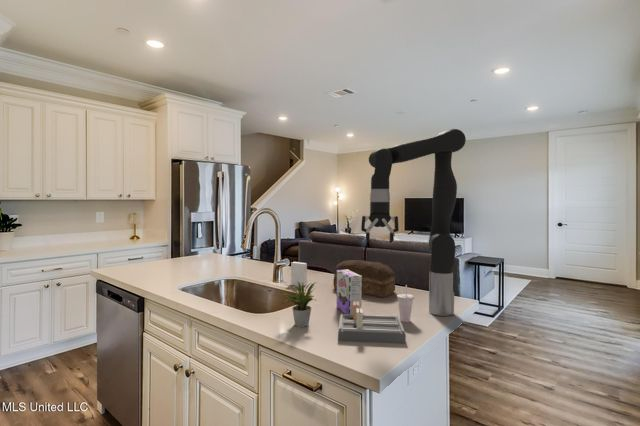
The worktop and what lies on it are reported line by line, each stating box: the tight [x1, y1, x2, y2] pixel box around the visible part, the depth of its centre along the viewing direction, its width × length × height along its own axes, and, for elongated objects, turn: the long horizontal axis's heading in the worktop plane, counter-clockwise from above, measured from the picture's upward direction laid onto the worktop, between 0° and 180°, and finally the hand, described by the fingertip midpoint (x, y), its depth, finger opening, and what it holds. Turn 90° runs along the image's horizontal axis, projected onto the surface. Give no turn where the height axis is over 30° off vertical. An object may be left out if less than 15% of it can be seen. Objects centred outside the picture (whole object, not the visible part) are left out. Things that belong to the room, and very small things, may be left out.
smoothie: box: [396, 284, 415, 323], centre depth 135 cm, size 6×6×14 cm
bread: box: [333, 259, 396, 298], centre depth 180 cm, size 15×32×16 cm, turn 54°
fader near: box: [356, 308, 364, 329], centre depth 119 cm, size 2×4×6 cm, turn 175°
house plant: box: [280, 281, 318, 328], centre depth 132 cm, size 14×14×16 cm
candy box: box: [336, 269, 363, 314], centre depth 146 cm, size 14×6×16 cm, turn 19°
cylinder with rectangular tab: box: [290, 261, 308, 287], centre depth 193 cm, size 9×9×12 cm
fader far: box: [353, 301, 359, 320], centre depth 127 cm, size 2×4×6 cm, turn 175°
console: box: [337, 313, 407, 344], centre depth 123 cm, size 22×16×4 cm
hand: (379, 242), depth 137 cm, fingers open, 8 cm apart
